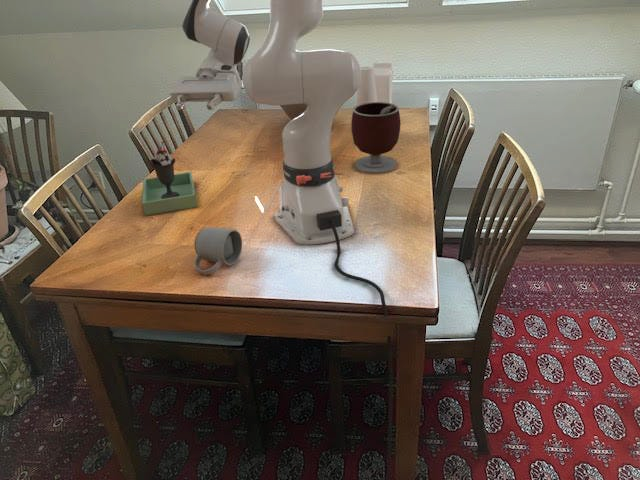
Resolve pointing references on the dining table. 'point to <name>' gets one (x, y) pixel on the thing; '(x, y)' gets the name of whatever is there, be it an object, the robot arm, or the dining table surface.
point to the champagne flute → (366, 86)
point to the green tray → (156, 190)
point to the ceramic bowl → (294, 109)
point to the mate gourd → (375, 135)
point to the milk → (383, 82)
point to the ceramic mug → (217, 247)
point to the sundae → (164, 171)
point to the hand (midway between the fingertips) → (194, 108)
